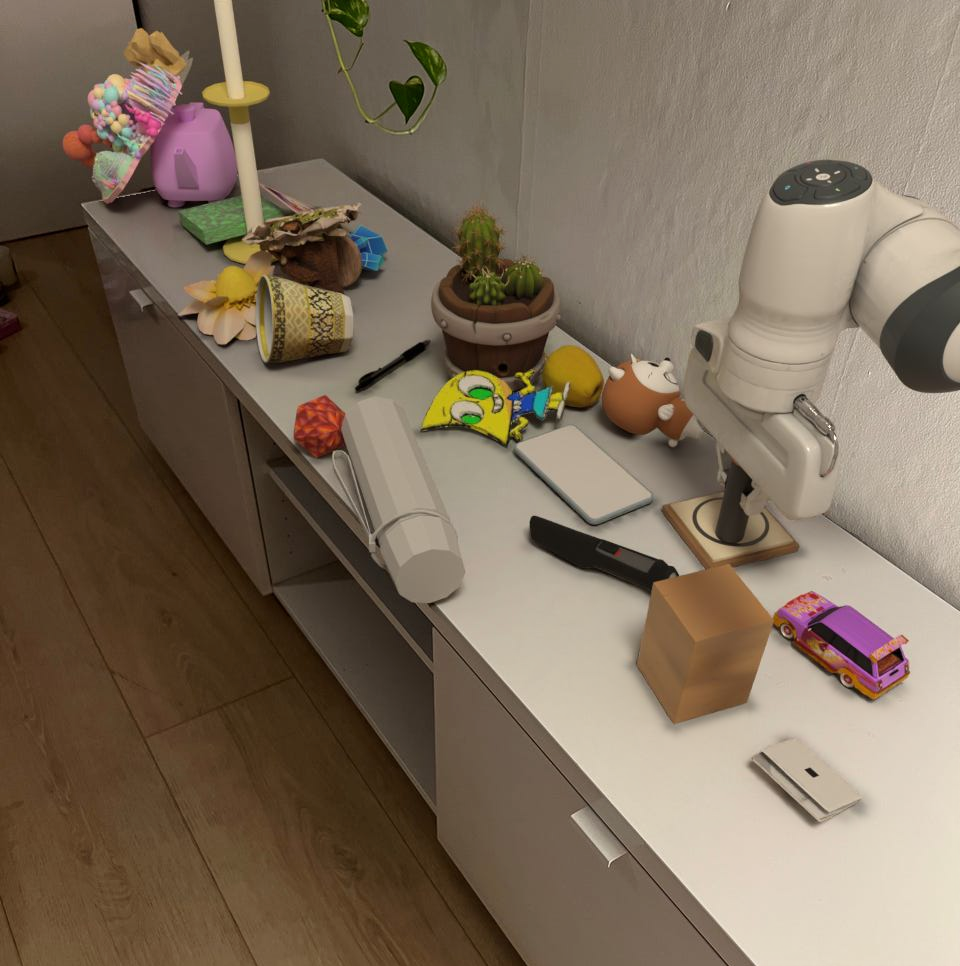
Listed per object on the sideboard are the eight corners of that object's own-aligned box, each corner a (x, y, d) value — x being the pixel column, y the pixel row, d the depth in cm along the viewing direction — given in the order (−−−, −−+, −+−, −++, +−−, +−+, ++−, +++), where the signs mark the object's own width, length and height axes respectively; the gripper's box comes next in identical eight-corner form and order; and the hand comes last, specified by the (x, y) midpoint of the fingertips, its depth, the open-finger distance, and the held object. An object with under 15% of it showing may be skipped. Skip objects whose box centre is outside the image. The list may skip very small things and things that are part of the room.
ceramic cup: (359, 284, 114) (272, 279, 111) (356, 372, 119) (272, 370, 115) (330, 271, 125) (250, 267, 121) (328, 352, 129) (251, 350, 126)
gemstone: (309, 287, 134) (348, 259, 143) (367, 288, 131) (403, 260, 140) (298, 230, 130) (339, 205, 138) (358, 230, 127) (396, 205, 136)
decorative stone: (309, 395, 101) (277, 393, 107) (310, 462, 102) (278, 456, 109) (364, 396, 104) (330, 393, 110) (365, 460, 106) (331, 454, 112)
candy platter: (178, 63, 155) (123, 18, 149) (214, 45, 136) (153, -8, 130) (97, 203, 157) (40, 164, 151) (121, 205, 138) (58, 160, 132)
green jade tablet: (254, 191, 149) (258, 208, 150) (177, 211, 144) (182, 228, 146) (282, 209, 141) (286, 227, 142) (202, 230, 137) (207, 248, 138)
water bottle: (407, 386, 103) (473, 538, 87) (405, 449, 109) (467, 603, 92) (319, 394, 101) (370, 552, 84) (322, 458, 106) (370, 617, 90)
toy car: (805, 602, 93) (818, 565, 90) (909, 681, 86) (928, 645, 83) (763, 626, 91) (775, 589, 87) (867, 709, 84) (884, 673, 81)
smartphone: (592, 522, 99) (510, 444, 108) (591, 529, 100) (510, 451, 108) (657, 496, 102) (573, 422, 111) (656, 503, 103) (572, 429, 111)
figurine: (723, 388, 102) (626, 330, 104) (675, 463, 104) (581, 405, 107) (731, 397, 111) (641, 343, 113) (686, 466, 113) (599, 412, 116)
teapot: (168, 170, 159) (152, 84, 150) (247, 171, 160) (235, 85, 151) (147, 223, 146) (127, 132, 136) (232, 224, 146) (219, 132, 137)
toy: (550, 454, 107) (419, 427, 110) (551, 457, 108) (420, 431, 111) (572, 373, 110) (443, 349, 112) (572, 377, 111) (444, 353, 113)
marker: (734, 522, 99) (758, 429, 91) (749, 540, 97) (774, 446, 89) (709, 528, 98) (730, 435, 90) (723, 546, 96) (746, 453, 88)
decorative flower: (329, 299, 127) (309, 337, 136) (275, 226, 126) (258, 269, 135) (234, 349, 120) (219, 385, 129) (177, 271, 119) (166, 313, 128)
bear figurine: (218, 237, 122) (250, 335, 128) (325, 217, 117) (352, 321, 123) (270, 214, 133) (297, 306, 139) (370, 196, 127) (393, 292, 134)
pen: (348, 382, 115) (349, 390, 116) (359, 387, 115) (360, 395, 116) (422, 333, 123) (422, 342, 124) (433, 338, 123) (433, 346, 124)
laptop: (745, 767, 79) (755, 750, 78) (787, 748, 82) (798, 731, 81) (813, 832, 75) (825, 814, 74) (855, 809, 78) (867, 792, 77)
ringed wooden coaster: (745, 492, 104) (748, 481, 104) (797, 551, 98) (801, 541, 97) (661, 511, 102) (663, 500, 101) (708, 573, 96) (711, 563, 95)
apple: (598, 385, 109) (538, 346, 110) (577, 428, 114) (520, 390, 115) (622, 360, 113) (565, 323, 114) (601, 402, 118) (546, 366, 119)
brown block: (706, 646, 89) (729, 563, 82) (746, 703, 84) (774, 620, 77) (636, 665, 87) (653, 582, 80) (673, 724, 83) (695, 641, 75)
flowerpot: (581, 387, 117) (599, 219, 103) (471, 425, 112) (473, 252, 97) (513, 333, 126) (521, 170, 111) (407, 365, 120) (401, 198, 106)
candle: (243, 228, 145) (195, -84, 118) (305, 239, 143) (271, -76, 116) (209, 257, 139) (150, -66, 111) (274, 269, 137) (230, -57, 109)
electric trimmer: (539, 529, 100) (541, 504, 98) (681, 584, 94) (687, 559, 92) (521, 549, 98) (522, 524, 95) (665, 607, 92) (670, 582, 90)
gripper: (877, 427, 78) (829, 558, 88) (744, 306, 92) (715, 432, 102) (809, 442, 77) (767, 574, 87) (683, 317, 90) (660, 444, 100)
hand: (738, 497), depth 94 cm, fingers closed on marker, 3 cm apart
